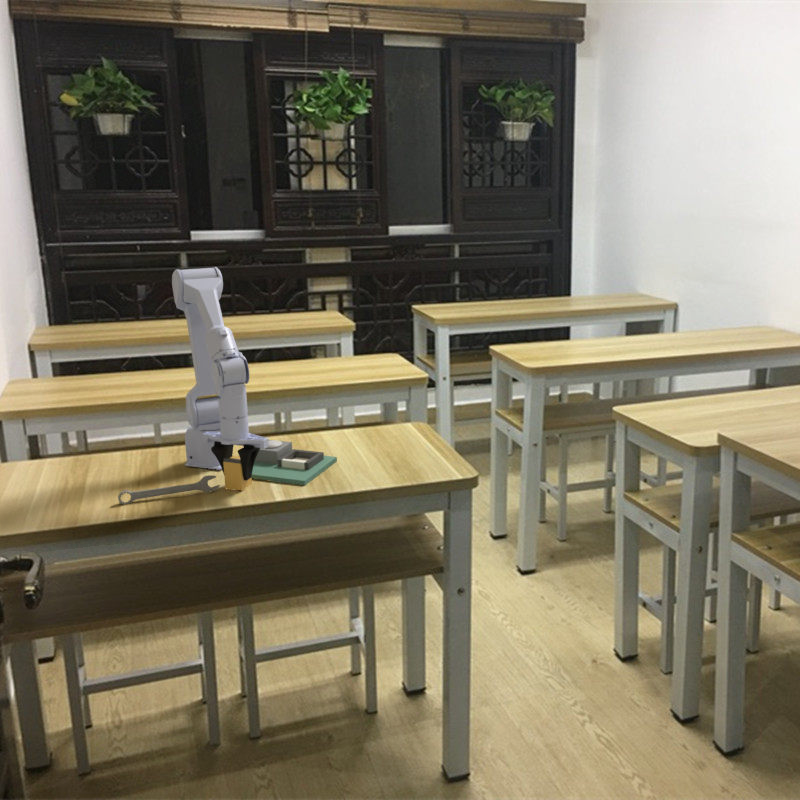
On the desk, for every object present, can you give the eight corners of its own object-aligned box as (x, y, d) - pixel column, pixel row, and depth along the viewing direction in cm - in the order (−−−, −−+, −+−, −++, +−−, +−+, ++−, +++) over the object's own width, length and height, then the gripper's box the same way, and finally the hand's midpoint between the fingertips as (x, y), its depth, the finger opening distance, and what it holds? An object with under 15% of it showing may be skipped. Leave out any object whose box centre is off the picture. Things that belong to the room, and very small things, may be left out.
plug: (225, 488, 166) (223, 459, 164) (235, 482, 169) (233, 453, 168) (242, 491, 164) (239, 461, 163) (252, 484, 168) (250, 454, 166)
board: (231, 476, 173) (229, 456, 172) (267, 453, 187) (266, 435, 186) (305, 485, 167) (304, 465, 166) (336, 461, 181) (336, 442, 180)
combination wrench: (116, 491, 157) (219, 475, 163) (116, 488, 158) (218, 473, 164) (119, 508, 158) (220, 492, 164) (119, 506, 159) (220, 490, 165)
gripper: (192, 417, 162) (197, 480, 165) (254, 423, 157) (258, 488, 160) (211, 408, 168) (216, 469, 171) (272, 414, 163) (275, 476, 167)
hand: (238, 477), depth 166 cm, fingers closed on plug, 4 cm apart
